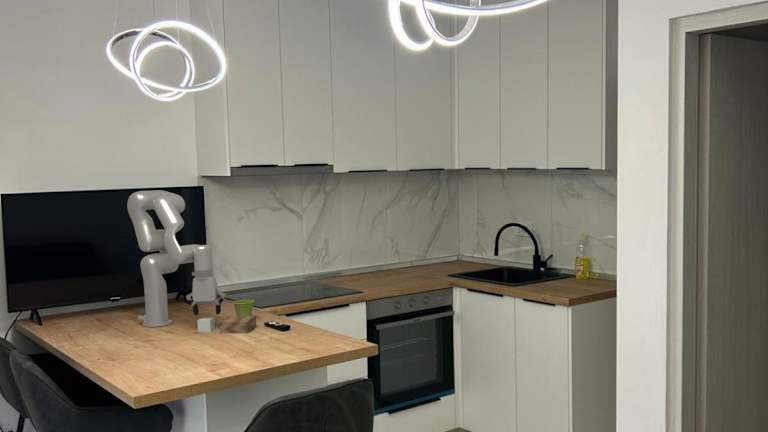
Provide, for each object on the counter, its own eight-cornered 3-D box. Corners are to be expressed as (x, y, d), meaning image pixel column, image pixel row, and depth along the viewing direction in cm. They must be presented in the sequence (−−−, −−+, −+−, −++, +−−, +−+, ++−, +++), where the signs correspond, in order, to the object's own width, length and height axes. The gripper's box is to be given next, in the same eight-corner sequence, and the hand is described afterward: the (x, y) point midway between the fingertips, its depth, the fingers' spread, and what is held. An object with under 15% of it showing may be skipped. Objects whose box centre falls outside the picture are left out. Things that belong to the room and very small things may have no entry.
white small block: (198, 332, 309) (197, 320, 309) (202, 329, 314) (202, 317, 314) (210, 332, 308) (209, 320, 308) (215, 329, 314) (214, 317, 313)
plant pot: (243, 323, 323) (242, 304, 323) (229, 321, 329) (228, 302, 328) (259, 319, 331) (258, 300, 330) (245, 317, 336) (244, 299, 336)
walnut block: (219, 334, 304) (219, 322, 304) (229, 328, 316) (229, 316, 316) (247, 334, 303) (247, 322, 302) (256, 327, 315) (255, 316, 314)
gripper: (181, 276, 307) (184, 316, 308) (220, 274, 305) (223, 315, 306) (188, 274, 315) (191, 313, 315) (226, 272, 312) (229, 312, 313)
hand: (207, 314), depth 310 cm, fingers open, 9 cm apart
